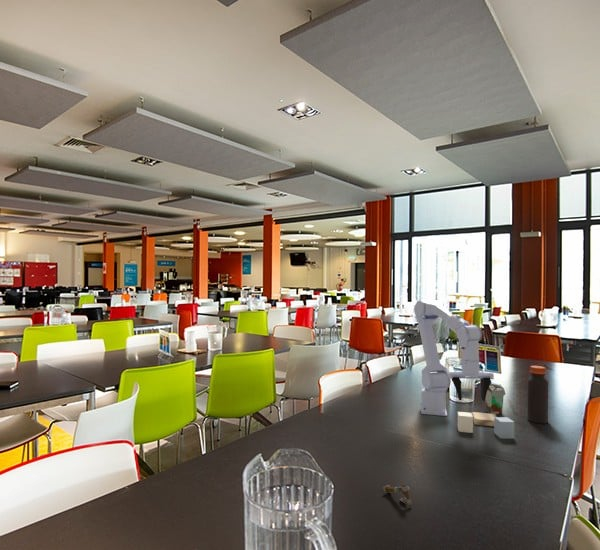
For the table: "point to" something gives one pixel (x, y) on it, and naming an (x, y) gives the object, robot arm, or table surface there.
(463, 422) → the cream block
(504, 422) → the slate block
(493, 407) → the food container
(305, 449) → the table surface
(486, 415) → the oak slab
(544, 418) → the bottle
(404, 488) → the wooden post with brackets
